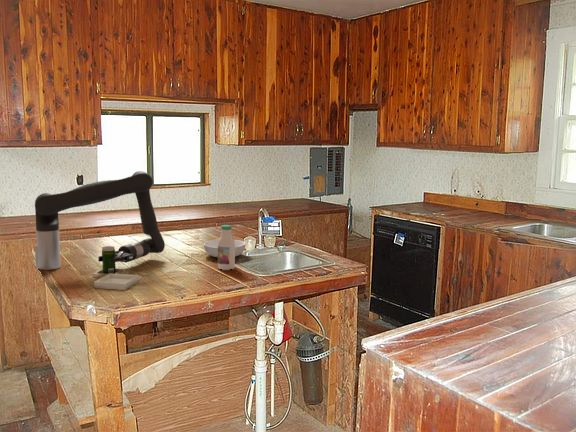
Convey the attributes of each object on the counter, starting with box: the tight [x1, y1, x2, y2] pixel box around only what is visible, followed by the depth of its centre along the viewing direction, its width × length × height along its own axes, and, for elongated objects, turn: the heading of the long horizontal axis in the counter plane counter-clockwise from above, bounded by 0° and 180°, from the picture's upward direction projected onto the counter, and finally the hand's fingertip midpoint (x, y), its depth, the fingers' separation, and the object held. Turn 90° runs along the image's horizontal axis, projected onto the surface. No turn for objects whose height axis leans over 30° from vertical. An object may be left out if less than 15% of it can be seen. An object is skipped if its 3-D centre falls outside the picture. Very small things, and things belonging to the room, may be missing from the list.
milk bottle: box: [217, 224, 236, 271], centre depth 248 cm, size 8×8×20 cm
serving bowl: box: [203, 238, 247, 258], centre depth 273 cm, size 21×21×7 cm
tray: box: [93, 273, 140, 291], centre depth 221 cm, size 13×13×2 cm
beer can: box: [101, 245, 117, 274], centre depth 234 cm, size 5×5×12 cm
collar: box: [92, 268, 126, 279], centre depth 235 cm, size 10×10×2 cm
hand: (104, 260), depth 231 cm, fingers closed on beer can, 5 cm apart
